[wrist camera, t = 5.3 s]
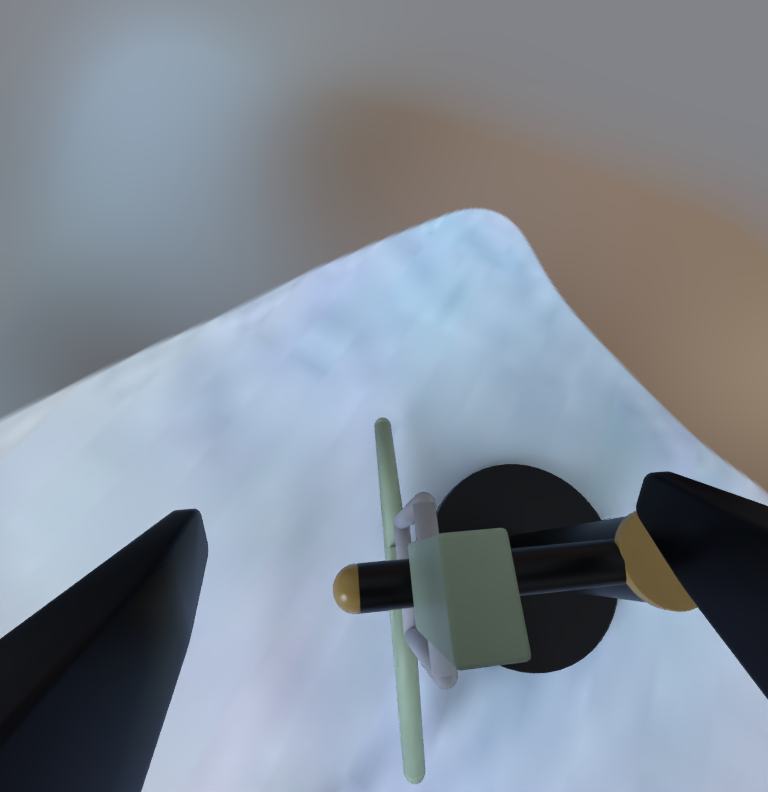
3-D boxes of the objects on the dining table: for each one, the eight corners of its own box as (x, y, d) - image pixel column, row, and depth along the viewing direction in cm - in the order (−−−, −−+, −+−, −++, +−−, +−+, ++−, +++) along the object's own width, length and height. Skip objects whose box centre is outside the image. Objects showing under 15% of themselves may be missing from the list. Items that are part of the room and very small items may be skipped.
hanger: (392, 420, 18) (450, 226, 8) (429, 775, 13) (698, 1500, 3) (369, 421, 18) (397, 227, 7) (398, 779, 13) (570, 1551, 3)
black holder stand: (634, 656, 16) (920, 751, 8) (346, 693, 15) (341, 849, 7) (581, 461, 19) (751, 386, 11) (336, 479, 18) (325, 411, 10)
